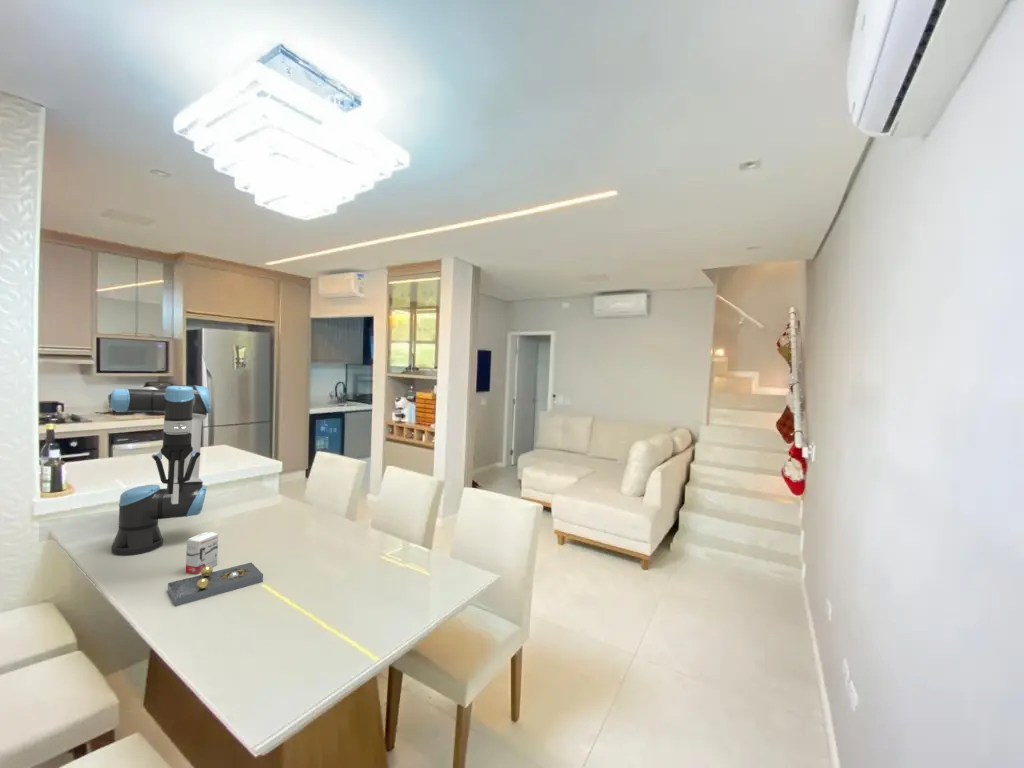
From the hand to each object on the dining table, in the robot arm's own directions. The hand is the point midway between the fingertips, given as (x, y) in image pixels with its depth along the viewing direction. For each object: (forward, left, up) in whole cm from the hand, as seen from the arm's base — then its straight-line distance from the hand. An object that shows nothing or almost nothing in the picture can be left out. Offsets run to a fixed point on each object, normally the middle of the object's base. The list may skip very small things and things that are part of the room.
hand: (174, 502), depth 145 cm
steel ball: (+13, +15, -25) cm, 32 cm away
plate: (+13, +10, -26) cm, 31 cm away
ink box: (-4, +10, -27) cm, 29 cm away
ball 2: (+17, +5, -22) cm, 29 cm away
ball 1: (+9, +8, -22) cm, 25 cm away
